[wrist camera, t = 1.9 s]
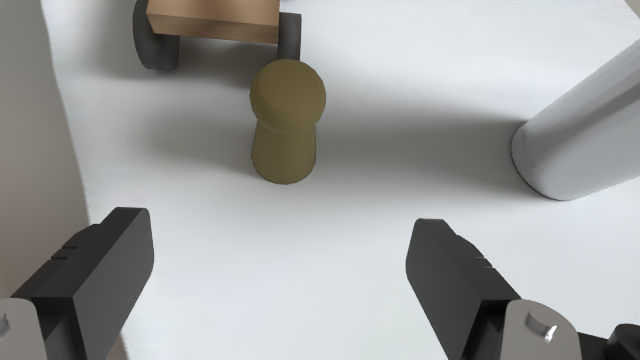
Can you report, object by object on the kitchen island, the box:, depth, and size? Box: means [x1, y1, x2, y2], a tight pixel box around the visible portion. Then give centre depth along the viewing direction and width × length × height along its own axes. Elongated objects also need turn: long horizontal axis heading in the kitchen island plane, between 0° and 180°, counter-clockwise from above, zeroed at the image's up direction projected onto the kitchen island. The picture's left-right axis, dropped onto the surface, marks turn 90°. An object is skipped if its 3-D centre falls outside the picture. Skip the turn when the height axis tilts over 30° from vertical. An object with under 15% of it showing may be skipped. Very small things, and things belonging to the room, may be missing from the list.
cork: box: [250, 59, 326, 185], centre depth 27 cm, size 6×6×11 cm
